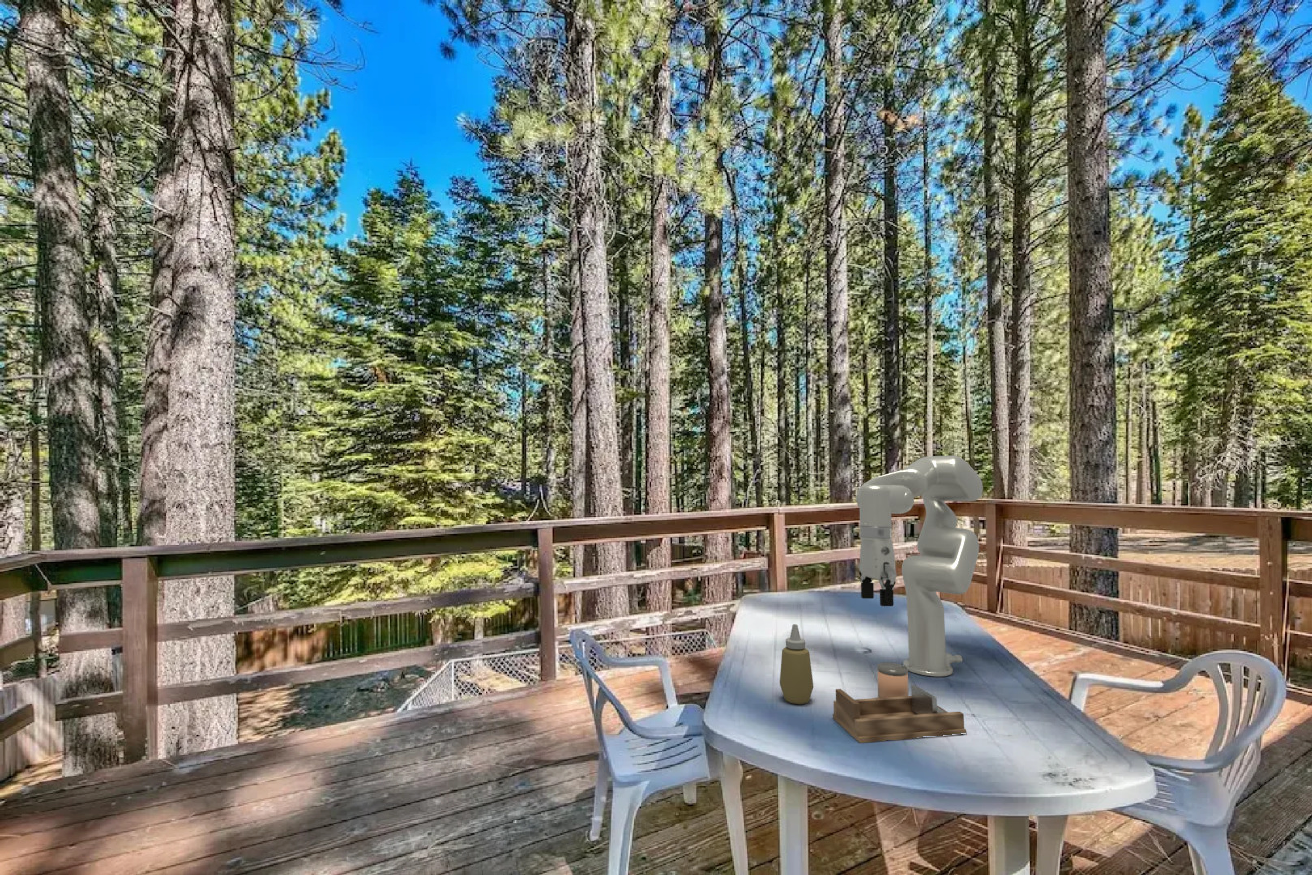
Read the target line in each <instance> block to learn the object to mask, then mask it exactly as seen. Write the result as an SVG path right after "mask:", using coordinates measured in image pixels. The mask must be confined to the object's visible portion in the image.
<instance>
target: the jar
mask: <svg viewBox="0 0 1312 875" xmlns="http://www.w3.org/2000/svg"><path fill="white" fill-rule="evenodd" d="M876 668H877V694H878V695H877V698H885V697H900V696H910V695H909V676H908V675H909V673H908V672H909V670H908V669H907V667H905V666H903V664H900V663H896V662H880V663H878V664H877V665H876Z"/></svg>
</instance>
